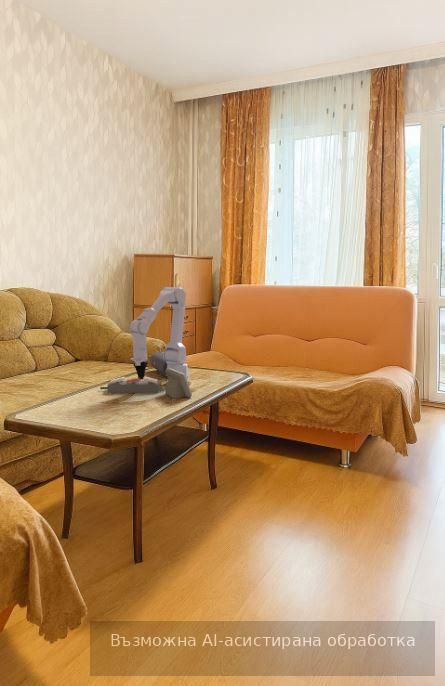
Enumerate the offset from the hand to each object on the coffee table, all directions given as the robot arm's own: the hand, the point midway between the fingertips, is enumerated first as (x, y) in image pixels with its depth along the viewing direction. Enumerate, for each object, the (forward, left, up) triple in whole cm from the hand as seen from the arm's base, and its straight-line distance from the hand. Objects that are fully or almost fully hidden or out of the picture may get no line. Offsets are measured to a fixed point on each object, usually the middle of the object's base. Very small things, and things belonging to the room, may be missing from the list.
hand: (141, 379), depth 224 cm
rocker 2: (+3, 0, -1) cm, 3 cm away
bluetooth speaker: (-5, -38, -6) cm, 38 cm away
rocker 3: (-4, 0, -1) cm, 4 cm away
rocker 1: (+10, 0, -1) cm, 10 cm away
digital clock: (-17, +6, -6) cm, 19 cm away
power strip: (+5, -2, -5) cm, 8 cm away
